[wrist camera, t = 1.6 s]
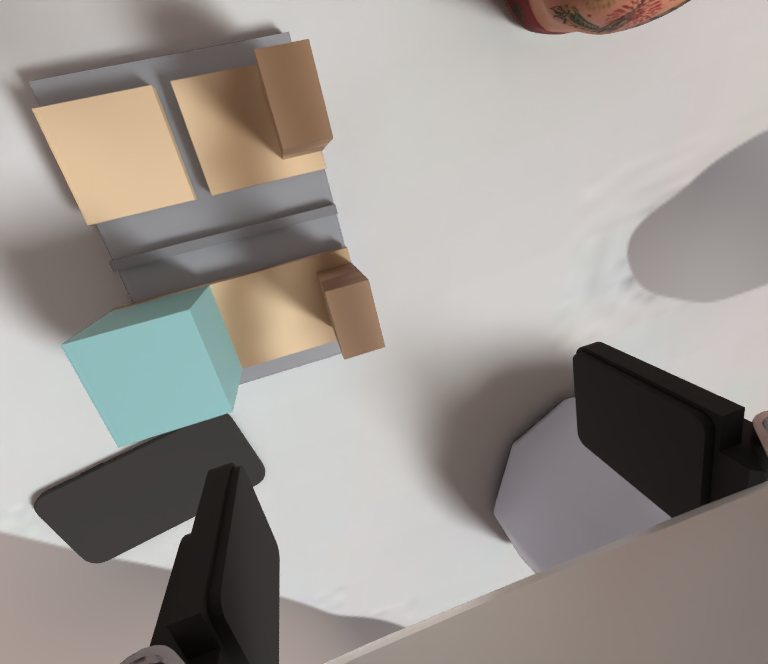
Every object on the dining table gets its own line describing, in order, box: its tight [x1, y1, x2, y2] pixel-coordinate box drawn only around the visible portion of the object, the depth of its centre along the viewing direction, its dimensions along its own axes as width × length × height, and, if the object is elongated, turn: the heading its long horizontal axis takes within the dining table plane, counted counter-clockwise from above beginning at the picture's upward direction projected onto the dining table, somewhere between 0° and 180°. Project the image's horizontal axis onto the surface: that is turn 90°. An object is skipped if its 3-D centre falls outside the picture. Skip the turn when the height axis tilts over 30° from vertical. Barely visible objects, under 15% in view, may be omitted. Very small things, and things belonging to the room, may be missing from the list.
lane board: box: [28, 32, 345, 385], centre depth 26 cm, size 14×20×2 cm
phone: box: [34, 414, 265, 563], centre depth 31 cm, size 7×1×15 cm
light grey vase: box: [493, 397, 671, 574], centre depth 33 cm, size 20×20×19 cm
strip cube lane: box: [110, 246, 385, 369], centre depth 25 cm, size 15×6×7 cm, turn 103°
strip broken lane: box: [170, 39, 333, 196], centre depth 21 cm, size 7×6×7 cm
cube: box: [61, 285, 242, 448], centre depth 24 cm, size 6×6×6 cm
